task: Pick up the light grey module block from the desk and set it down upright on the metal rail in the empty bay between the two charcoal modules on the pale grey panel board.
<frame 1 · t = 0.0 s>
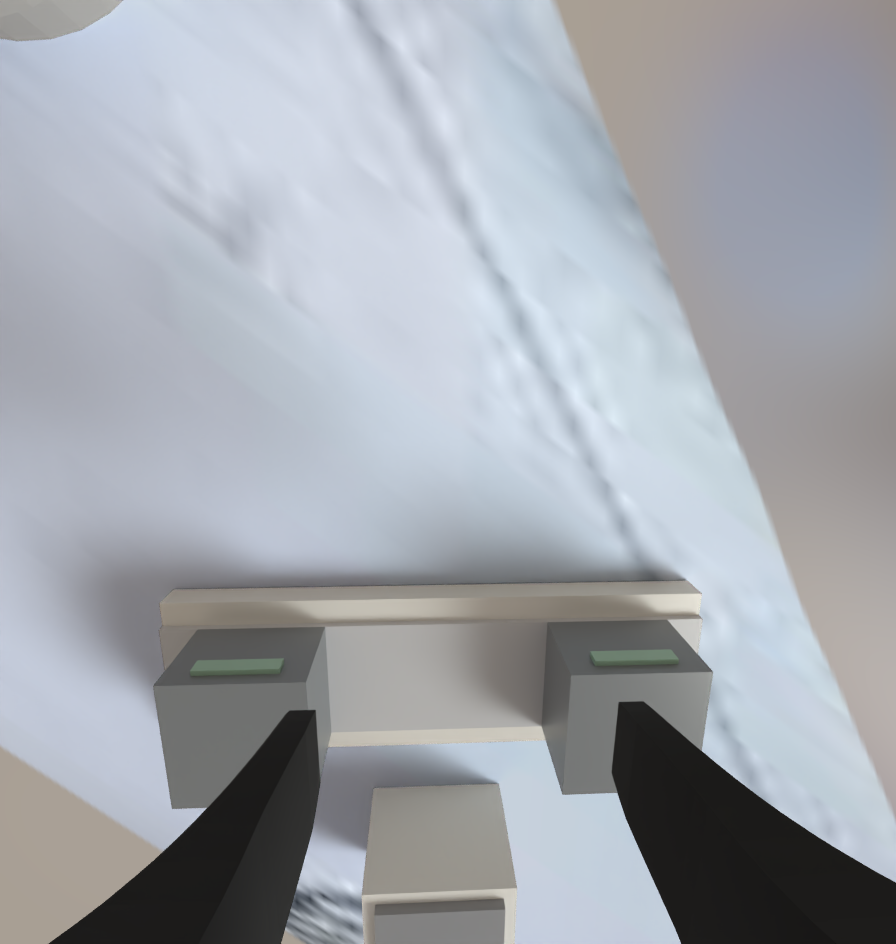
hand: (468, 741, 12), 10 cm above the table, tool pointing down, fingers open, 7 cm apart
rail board: (436, 657, 23), on the table
module block: (436, 818, 25), on the table
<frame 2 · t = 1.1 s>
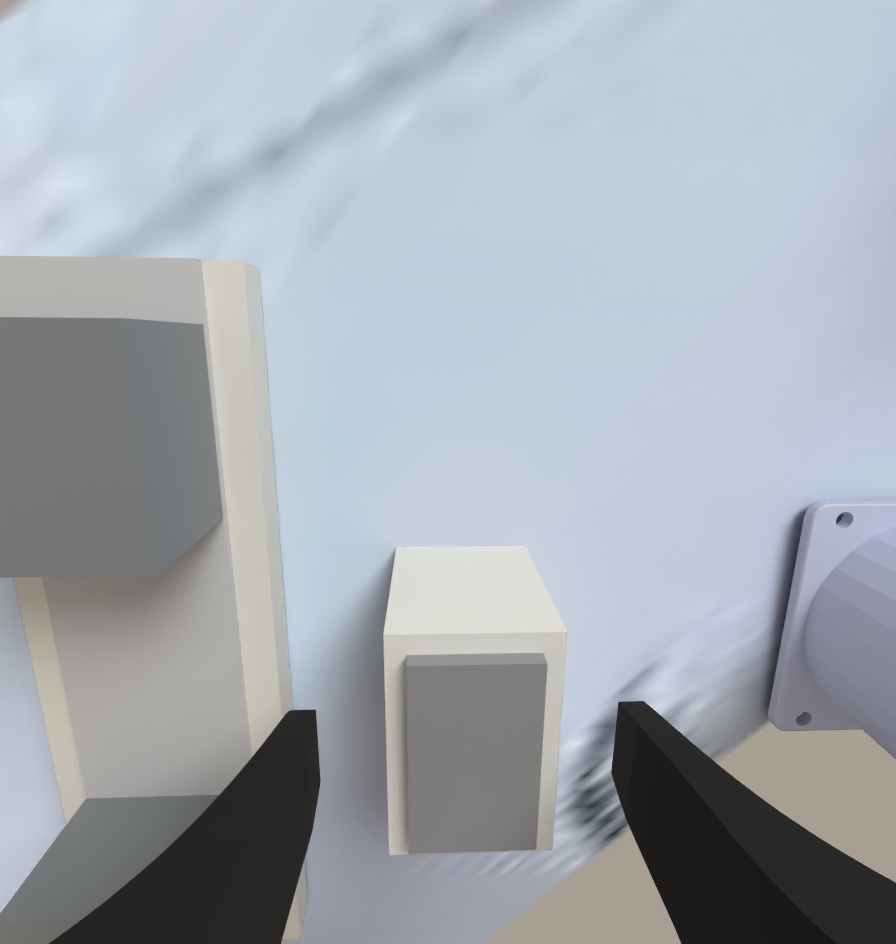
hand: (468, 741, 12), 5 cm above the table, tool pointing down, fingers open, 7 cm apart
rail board: (174, 638, 16), on the table
module block: (459, 632, 17), on the table
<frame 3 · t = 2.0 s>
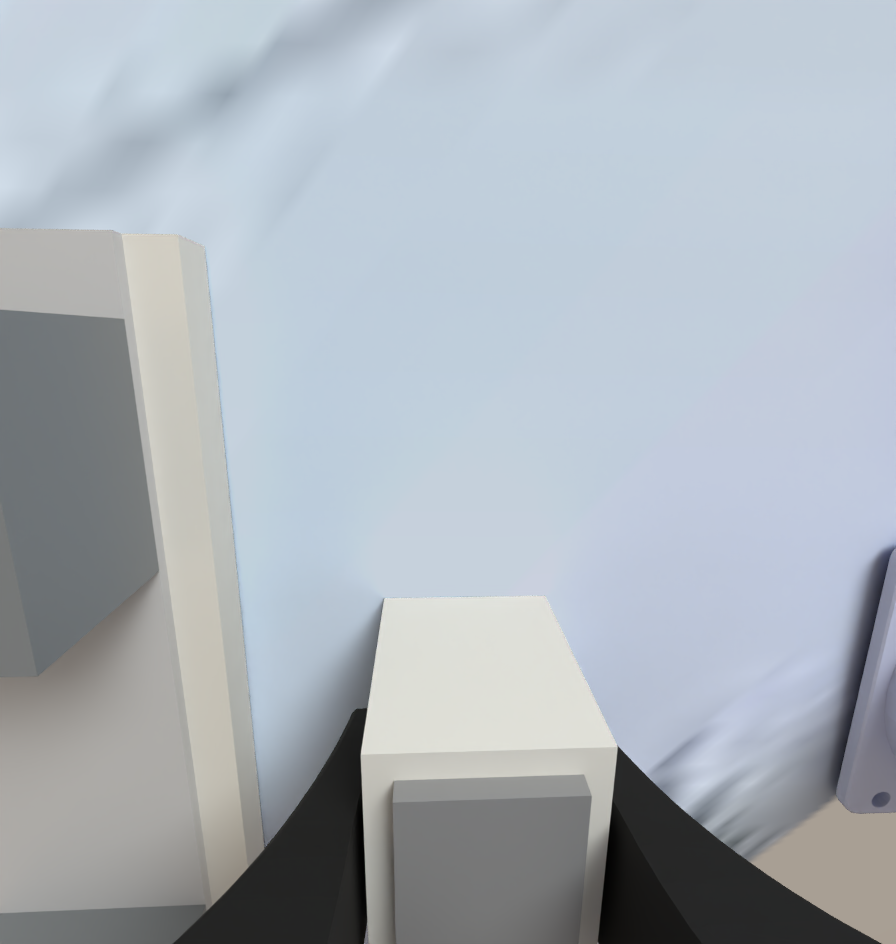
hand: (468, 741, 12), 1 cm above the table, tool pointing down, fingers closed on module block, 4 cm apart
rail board: (110, 710, 13), on the table
module block: (463, 701, 14), on the table, touching gripper
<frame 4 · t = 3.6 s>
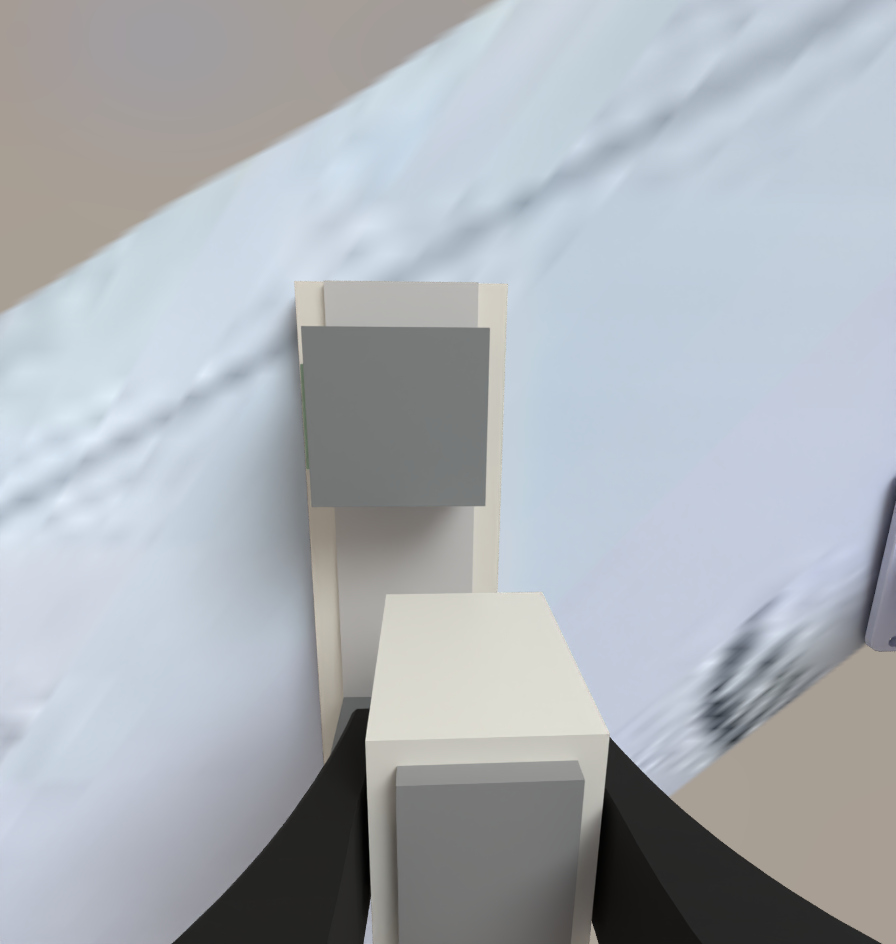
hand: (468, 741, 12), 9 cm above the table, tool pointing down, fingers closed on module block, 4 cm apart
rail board: (407, 574, 21), on the table
module block: (463, 694, 14), point 7 cm above the table, touching gripper
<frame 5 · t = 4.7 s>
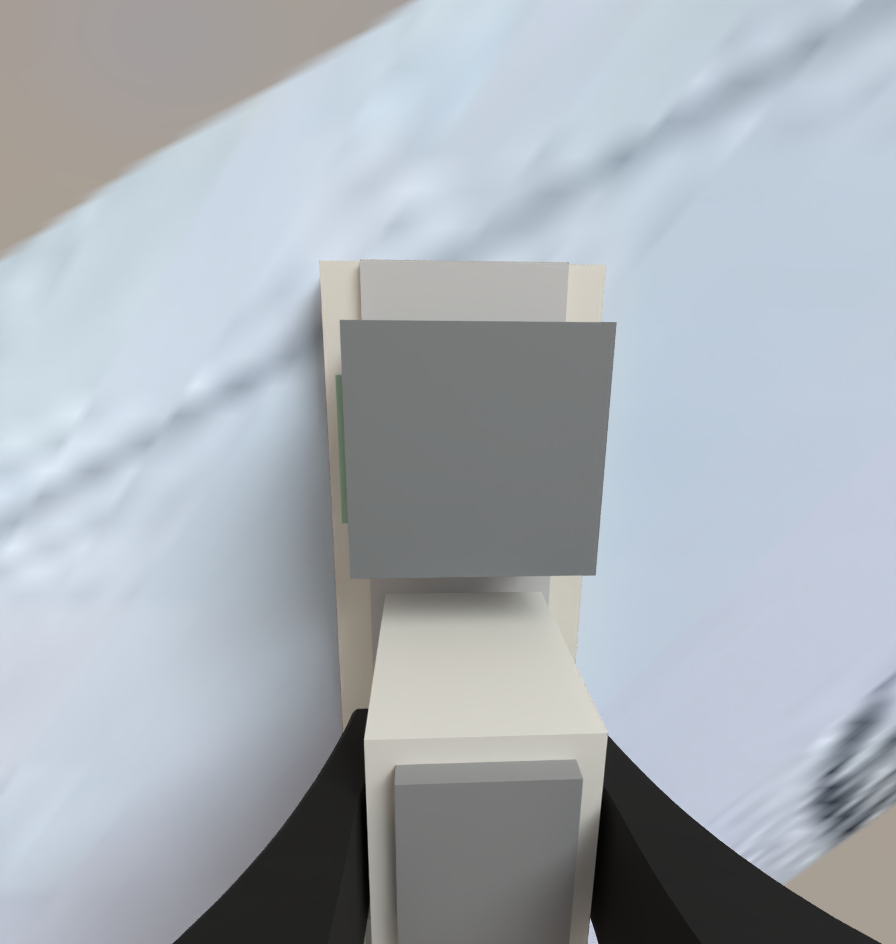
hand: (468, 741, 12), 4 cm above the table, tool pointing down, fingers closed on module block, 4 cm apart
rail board: (456, 638, 16), on the table
module block: (462, 694, 14), point 3 cm above the table, touching gripper
when the fingers open (4 cm above the table, at t = 5.4 s): module block drops 1 cm, resting on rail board.
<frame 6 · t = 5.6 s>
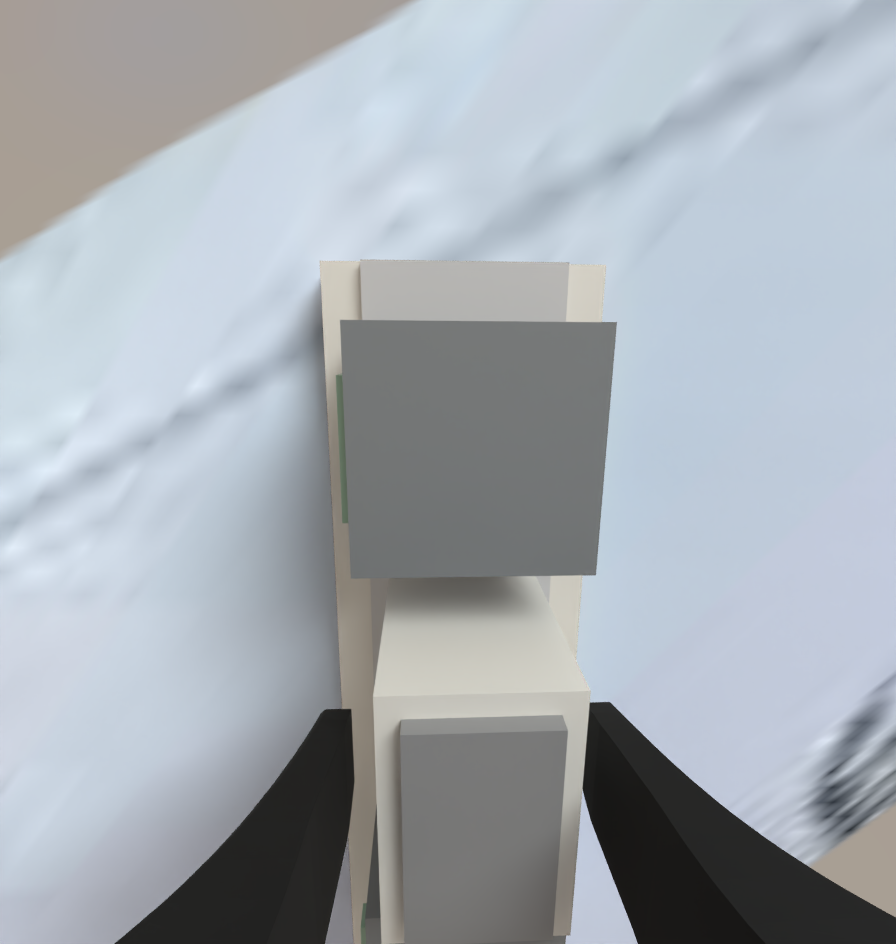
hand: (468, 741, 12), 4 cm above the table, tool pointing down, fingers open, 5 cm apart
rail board: (456, 638, 17), on the table
module block: (461, 670, 15), point 1 cm above the table, touching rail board
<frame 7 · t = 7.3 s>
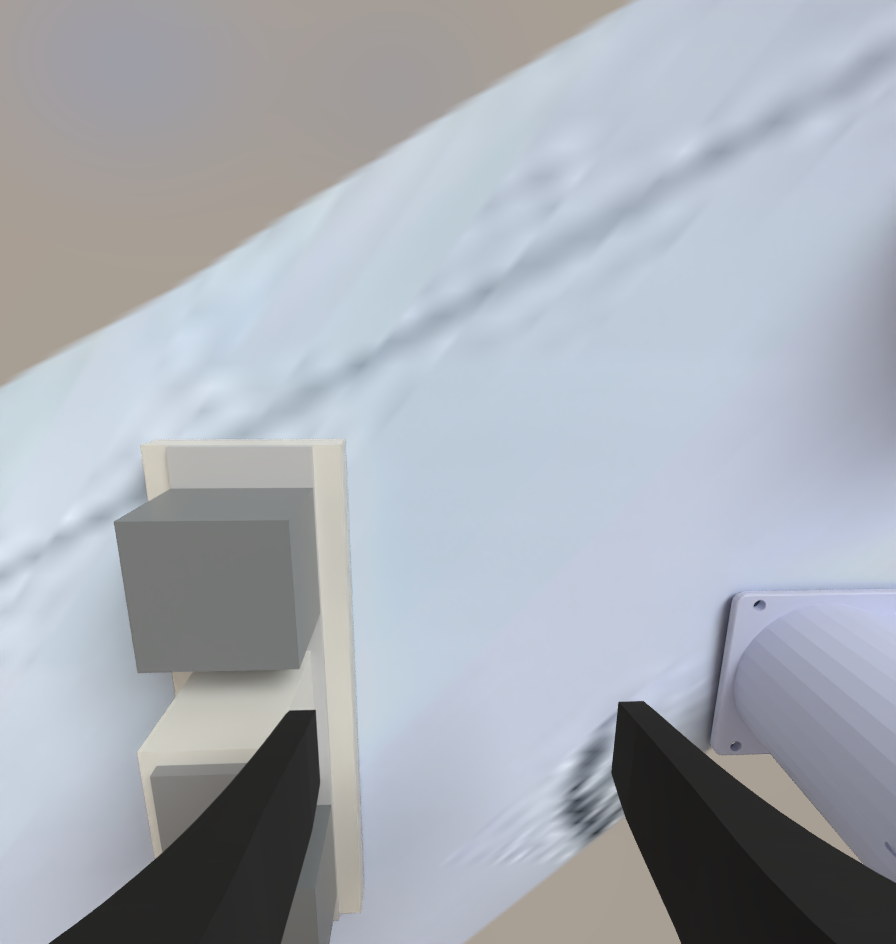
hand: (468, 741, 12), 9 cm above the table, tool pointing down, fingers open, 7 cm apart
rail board: (273, 691, 22), on the table
module block: (264, 717, 21), point 1 cm above the table, touching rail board
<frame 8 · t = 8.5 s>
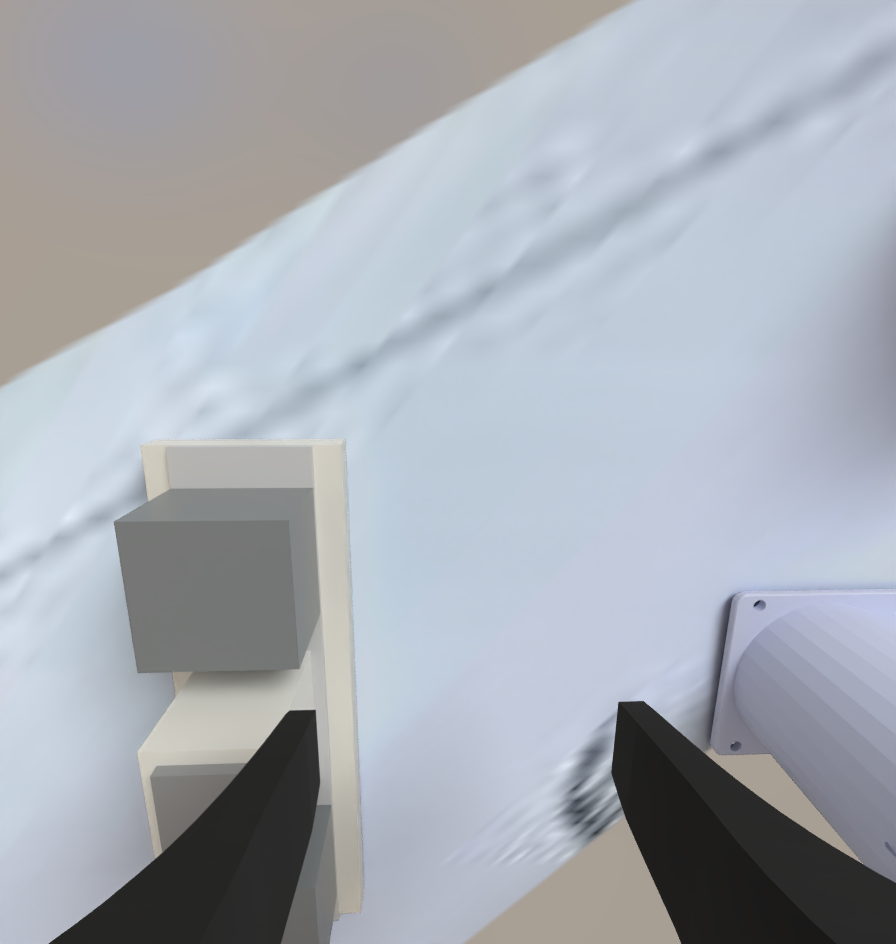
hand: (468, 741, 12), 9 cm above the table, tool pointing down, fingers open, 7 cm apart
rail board: (273, 691, 22), on the table
module block: (264, 717, 21), point 1 cm above the table, touching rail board
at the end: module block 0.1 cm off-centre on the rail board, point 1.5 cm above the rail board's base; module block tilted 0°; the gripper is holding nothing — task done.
